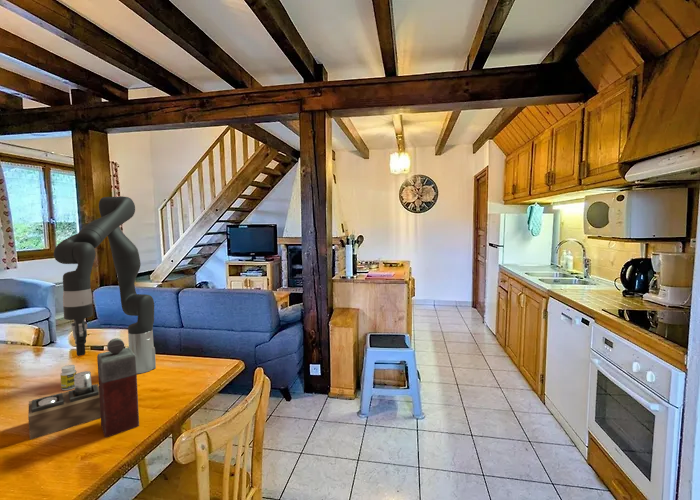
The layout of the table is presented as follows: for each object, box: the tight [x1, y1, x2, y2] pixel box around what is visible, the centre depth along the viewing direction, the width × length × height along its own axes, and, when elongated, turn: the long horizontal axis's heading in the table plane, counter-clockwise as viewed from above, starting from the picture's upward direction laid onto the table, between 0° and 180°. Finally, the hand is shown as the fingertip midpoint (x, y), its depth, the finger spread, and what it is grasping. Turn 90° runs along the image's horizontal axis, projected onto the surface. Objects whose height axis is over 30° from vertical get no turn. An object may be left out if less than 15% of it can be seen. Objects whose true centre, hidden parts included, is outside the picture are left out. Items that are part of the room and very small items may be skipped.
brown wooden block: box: [27, 383, 101, 440], centre depth 113 cm, size 18×12×8 cm, turn 132°
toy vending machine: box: [96, 337, 140, 438], centre depth 110 cm, size 9×11×28 cm
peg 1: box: [38, 397, 57, 406], centre depth 110 cm, size 4×4×7 cm
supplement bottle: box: [60, 364, 77, 391], centre depth 135 cm, size 5×5×8 cm
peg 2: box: [74, 370, 92, 397], centre depth 115 cm, size 4×4×7 cm
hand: (81, 354), depth 115 cm, fingers closed
